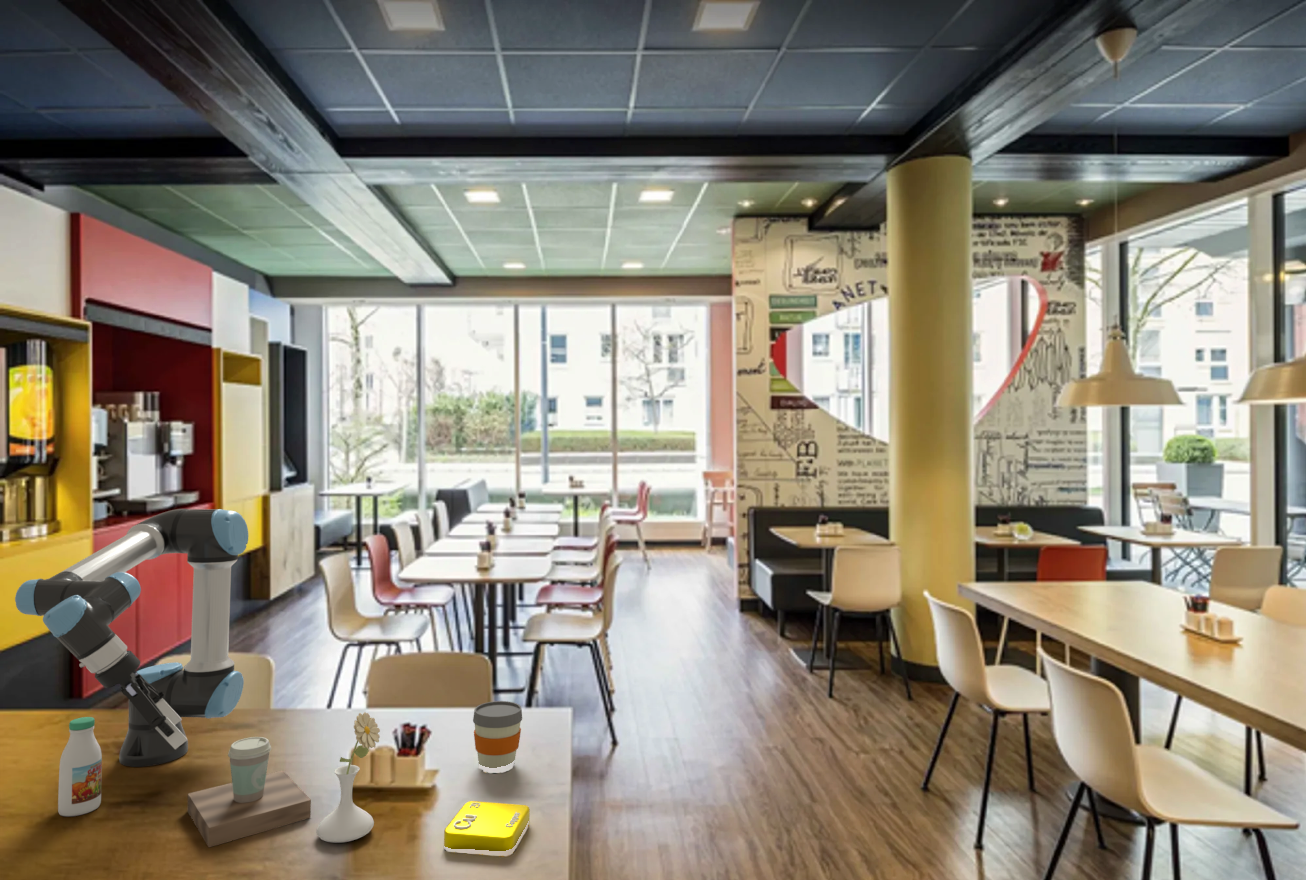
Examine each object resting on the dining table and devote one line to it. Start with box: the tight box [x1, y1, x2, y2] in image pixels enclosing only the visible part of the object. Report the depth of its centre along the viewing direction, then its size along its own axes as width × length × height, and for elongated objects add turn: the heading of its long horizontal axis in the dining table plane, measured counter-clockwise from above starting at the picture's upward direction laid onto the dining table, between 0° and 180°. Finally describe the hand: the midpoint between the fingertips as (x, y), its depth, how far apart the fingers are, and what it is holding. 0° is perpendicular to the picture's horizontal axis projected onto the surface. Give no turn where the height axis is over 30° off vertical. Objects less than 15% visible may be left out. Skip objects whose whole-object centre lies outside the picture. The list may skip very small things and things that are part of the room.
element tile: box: [443, 800, 531, 851], centre depth 165 cm, size 15×15×5 cm
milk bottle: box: [57, 716, 103, 817], centre depth 173 cm, size 8×8×20 cm
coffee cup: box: [227, 736, 272, 803], centre depth 172 cm, size 8×8×12 cm
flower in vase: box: [316, 711, 381, 844], centre depth 166 cm, size 13×11×25 cm
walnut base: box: [187, 769, 312, 848], centre depth 173 cm, size 20×20×4 cm
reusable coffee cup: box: [472, 700, 523, 768], centre depth 201 cm, size 13×13×15 cm
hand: (178, 733), depth 167 cm, fingers open, 13 cm apart
